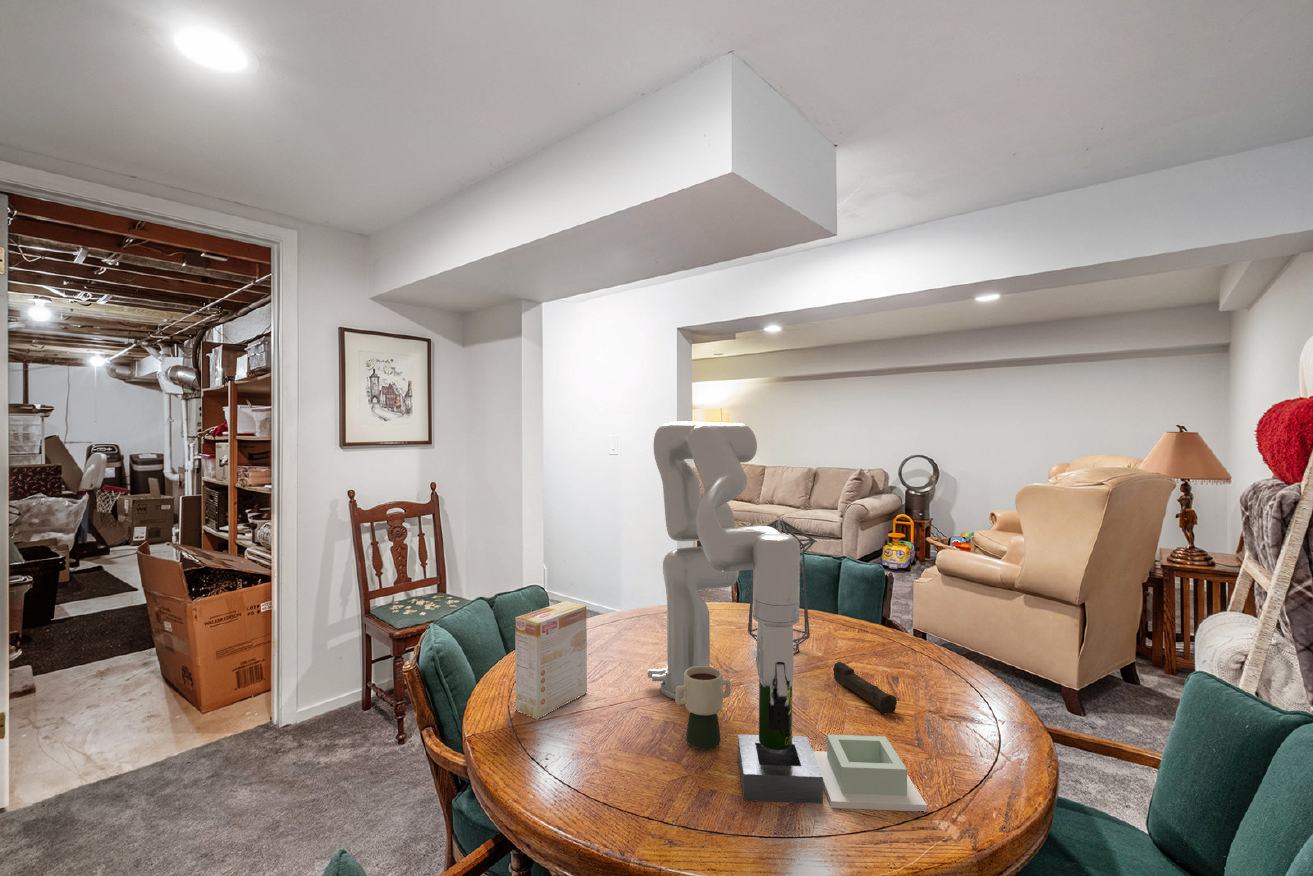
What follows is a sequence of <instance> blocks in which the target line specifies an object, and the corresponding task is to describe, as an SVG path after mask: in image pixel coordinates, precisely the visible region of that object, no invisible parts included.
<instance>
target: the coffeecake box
mask: <svg viewBox="0 0 1313 876" xmlns="http://www.w3.org/2000/svg"><path fill="white" fill-rule="evenodd" d="M514 620H515V622H514V625H515V626H514V627H515V633H514V634H515V637H514V638H515V639H514V640H515V641H514V642H515V649H514V650H515V711H516V710H517V711H520V712H522V713H524V714H523V715H525V714H528V715H530V716H532V717H534V718H536V719H535V720H537V719H538V718H540V717H541V718H543V717H544V716H543V715H545V714H547V715H549V714H550V713H549V712H551V711H552V710H554V711H556V710H558V709H560V708H561V707H560V706H562V705H564V704H566V703H567V702H569V701H571V700H573V701H575V700H576V699H575V698H577V697H578V696H581V695H583V694H585V693H586V692H587V693H588V670H587V669H588V668H587V666H588V659H587V657H588V656H587V655H588V654H587V653H588V651H587V649H588V648H587V646H588V645H587V642H588V641H587V640H588V639H587V628H588V627H587V626H588V625H587V605H585V604H581V603H577V602H576V603H575V602H573V601H567V600H564V601H561V602H558V603H555V604H553V605H549V606H546V607H543V608H540V609H537V610H534V611H531V612H528V613H525V614H521V615H519V616H515V618H514ZM587 693H586V694H587ZM586 694H585V695H586ZM583 696H584V695H583ZM581 697H582V696H581ZM574 699H575V700H574ZM577 699H578V698H577ZM571 702H572V701H571ZM569 703H570V702H569ZM566 705H567V704H566ZM564 706H565V705H564ZM559 707H560V708H559ZM562 707H563V706H562ZM557 708H558V709H557ZM555 709H556V710H555ZM517 711H516V712H517ZM522 713H521V714H522ZM548 713H549V714H548ZM551 713H552V712H551ZM528 715H527V716H528ZM530 716H529V717H530ZM542 716H543V717H542ZM545 716H546V715H545ZM532 717H531V718H532ZM534 718H533V719H534ZM541 718H540V719H541ZM538 720H539V719H538Z"/></svg>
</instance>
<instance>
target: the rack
mask: <svg viewBox="0 0 1313 876" xmlns="http://www.w3.org/2000/svg"><path fill="white" fill-rule="evenodd" d="M813 752H814V755H815V758H816V760H817V763H818V765H819V768H820V771H821V773H822V776H823V791H824V792H825V795H826V797H827V799H828V803H829V805H830V808H831V809H847V810H848V809H849V810H850V809H851V810H870V811H871V810H872V811H875V810H876V811H894V812H895V811H897V812H898V811H900V812H918V811H920V812H919V813H922V812H921V811H924V812H923V813H927V812H928V804H927V802H926V801H925V800H924V798H923V797H922V795H921V794H920V792H919V790H918V789H917V787H916V785H915V784H914V782H913V781H912V779H911V778H910V776H909V775H908V769H907V767H906V766H905V764H904V763H903V761H902V759H901V757H899V755H898V753H897V752H896V751H895V749H894V748H893V745H892V744H891V742H890V741H889V740H888V738H887V736H885V735H884V736H881V735H879V736H878V735H876V736H875V735H849V734H848V735H847V734H846V735H845V734H844V735H843V734H826V751H822V750H821V751H819V750H817V751H816V750H813Z"/></svg>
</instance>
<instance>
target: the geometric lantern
mask: <svg viewBox="0 0 1313 876" xmlns="http://www.w3.org/2000/svg"><path fill="white" fill-rule="evenodd" d="M765 526H769V527H773V528H775V529H777V530H778V531H779V532H780V533H782V534H783V531H784V534H787V535H791V536H793V537H795V538H796V539H797V540H798V542H799V545H800V551H801V550H802V552H801V553H800V557H801V556H802V563H801V562H800V573H802V582H803V583H802V584H803V585H802V587H803V590H802V591H803V612H804V613H803V614H804V615H803V617H804V619H803V620H804V630H801V629H797V628H793V632H798V633H802V634H803V635H802V636H801V637H797V638H795V639H794V638H793V650H795V652H794V651H793V656H794V655H796V654H797V652H798V651H799V652H800V645H801V644H802V643H804V642H805V641H807V640H808V639H809V638H810V637H811V635H810V633H811V632H810V623H809V610H808V609H809V608H808V600H807V589H806V588H807V586H806V564H805V563H806V561H805V560H806V559H805V553H806V552H807V551H808V550H809V549H810V548H811V547H812V546H813V545H814V544H815V543H817V542H818V540H816V539H814V538H813V537H811V536H809V535H808V534H806V533H805V532H803V531H801V530H800V529H798V528H797V527H795V526H793V525H791V524H790V523H788V522H787V521H785V520H784V519H775V520H773V521H772V522H770V523H768V524H766V525H765ZM782 529H783V531H782ZM792 530H793V531H795V532H796V533H799V534H800V535H802V536H804V537H805V538H803V539H802V538H801V539H799V538H798V536H796V534H795V533H793V531H792ZM803 542H805V543H803ZM750 587H751V588H750V599H749V611H748V625H747V634H748V635H750V636H751V637H752V638H753V639H754V640H755V641H756V642H757V634H755V633H753V632H756V631H757V629H758V627H756V628H753V570H751V586H750ZM794 643H795V644H794ZM797 650H798V651H797ZM799 652H798V653H799ZM795 653H796V654H795Z"/></svg>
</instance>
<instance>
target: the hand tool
mask: <svg viewBox="0 0 1313 876" xmlns="http://www.w3.org/2000/svg"><path fill="white" fill-rule="evenodd" d="M832 670H833V677H834V680H836V682H837V683H838V684H839V685H841V687H842V688H844V687H845V688H844V689H849V690H851V691H852V692H854V693H855V694H856V695H858V696H860V697H861V698H863V699H864V700H866V701H867V702H869V703H870V704H871V705H872V706H874V707H875V708H877V709H879V712H880V714H881V715H888V714H892V713H893V714H894V712H895V711H896V709H897V708H896V707H897V697H896V696H894V694H893V695H892V694H890V693H887V692H885V691H883V690H882V689H881V688H879V687H878V686H877V685H873V684H872V683H870V682H869V681H867V680H866V679H863V678H862V677H860V676H859V675H858V674H856V673H855V669H853V668H852V667H850V666H849V665H847V664H845V663H844V662H841V661H837V662H836V663H835V664H834V665H833V669H832Z"/></svg>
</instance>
